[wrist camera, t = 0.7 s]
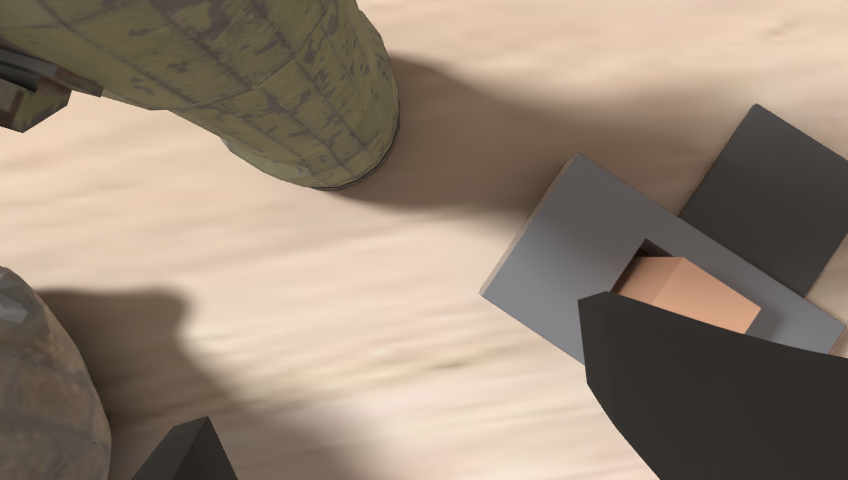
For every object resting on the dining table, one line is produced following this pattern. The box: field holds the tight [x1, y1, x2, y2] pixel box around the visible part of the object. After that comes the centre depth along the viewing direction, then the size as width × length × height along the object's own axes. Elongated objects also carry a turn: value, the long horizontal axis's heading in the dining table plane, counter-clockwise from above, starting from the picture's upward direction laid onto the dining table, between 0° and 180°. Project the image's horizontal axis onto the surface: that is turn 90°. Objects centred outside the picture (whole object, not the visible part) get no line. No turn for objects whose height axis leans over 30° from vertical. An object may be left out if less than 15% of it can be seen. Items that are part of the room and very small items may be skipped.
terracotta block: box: [610, 257, 761, 334], centre depth 27 cm, size 4×4×7 cm
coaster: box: [678, 104, 848, 298], centre depth 30 cm, size 8×8×1 cm
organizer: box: [479, 152, 846, 365], centre depth 29 cm, size 16×9×3 cm, turn 56°
